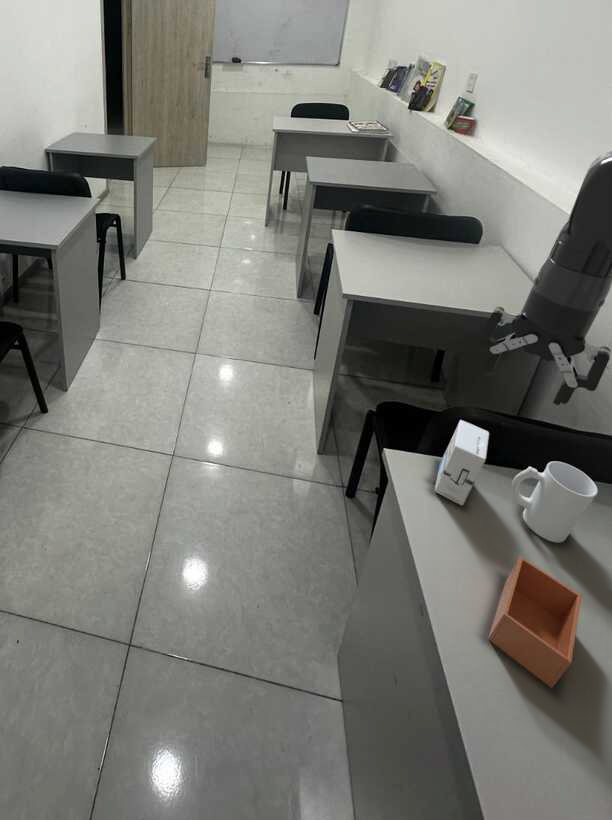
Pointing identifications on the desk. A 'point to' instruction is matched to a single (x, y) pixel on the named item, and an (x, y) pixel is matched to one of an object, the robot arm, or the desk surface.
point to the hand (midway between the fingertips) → (521, 386)
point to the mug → (555, 499)
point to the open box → (537, 621)
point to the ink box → (462, 462)
